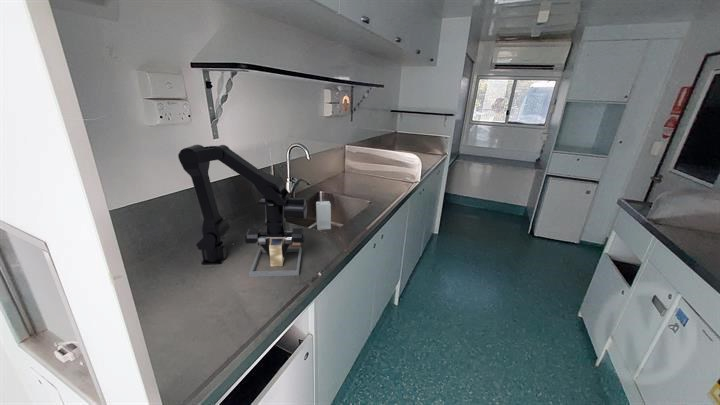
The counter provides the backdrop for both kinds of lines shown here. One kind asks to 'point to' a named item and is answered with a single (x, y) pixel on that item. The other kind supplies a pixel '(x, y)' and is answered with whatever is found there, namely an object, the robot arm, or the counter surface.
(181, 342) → the counter surface
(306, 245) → the counter surface
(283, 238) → the terracotta tile
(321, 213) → the skincare box
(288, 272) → the grey picture frame
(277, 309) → the counter surface
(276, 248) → the birch label block
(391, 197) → the counter surface
